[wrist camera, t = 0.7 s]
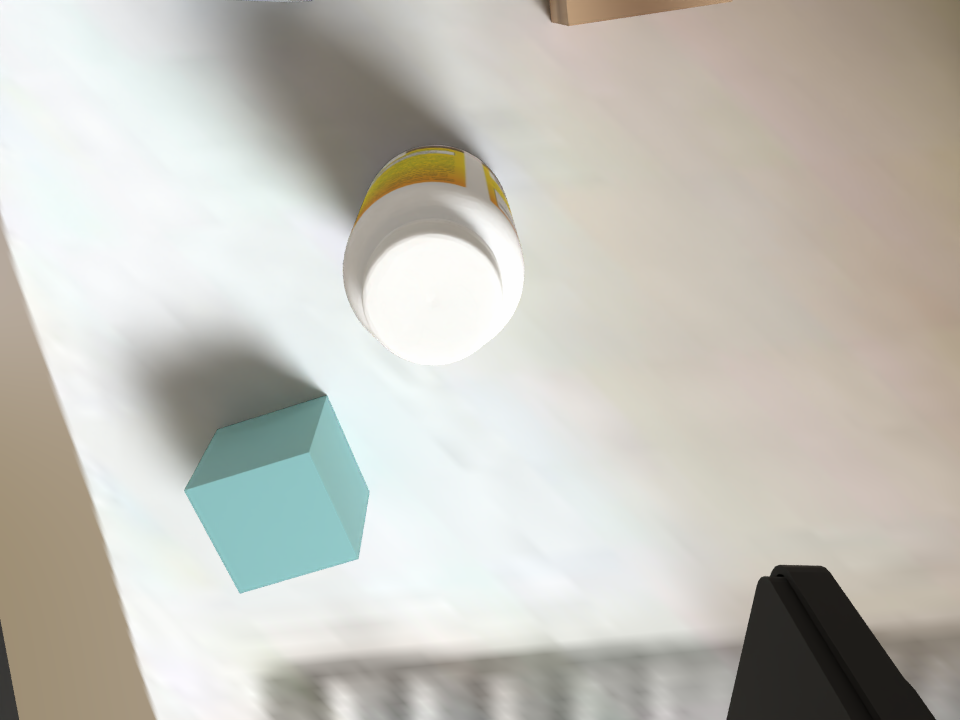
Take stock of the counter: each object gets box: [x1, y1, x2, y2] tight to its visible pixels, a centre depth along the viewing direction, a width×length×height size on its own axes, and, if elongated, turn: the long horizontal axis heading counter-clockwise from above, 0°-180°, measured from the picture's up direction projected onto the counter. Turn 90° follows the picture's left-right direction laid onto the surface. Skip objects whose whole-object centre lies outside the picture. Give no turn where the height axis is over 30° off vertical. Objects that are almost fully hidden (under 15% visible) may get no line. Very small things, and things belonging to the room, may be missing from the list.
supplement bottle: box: [343, 145, 524, 365], centre depth 28 cm, size 6×6×10 cm
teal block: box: [184, 395, 369, 593], centre depth 35 cm, size 5×5×5 cm
